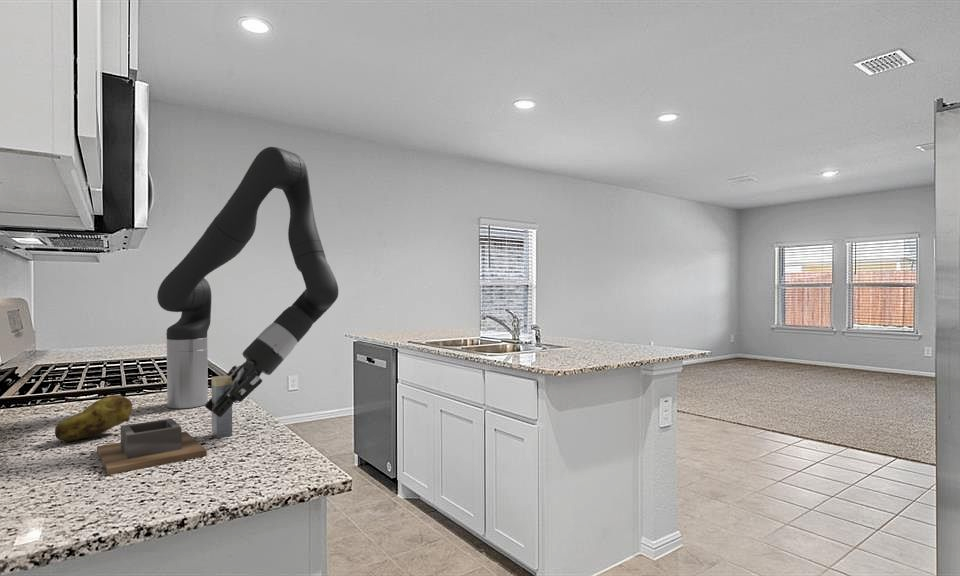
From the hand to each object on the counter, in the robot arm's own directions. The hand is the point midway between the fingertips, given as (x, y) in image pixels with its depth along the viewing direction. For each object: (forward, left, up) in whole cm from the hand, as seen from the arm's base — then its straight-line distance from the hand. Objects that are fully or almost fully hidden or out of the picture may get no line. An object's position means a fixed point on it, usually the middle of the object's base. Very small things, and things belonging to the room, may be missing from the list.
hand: (212, 411), depth 111 cm
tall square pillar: (0, +2, -5) cm, 6 cm away
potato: (-19, -15, -5) cm, 25 cm away
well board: (+2, -12, -5) cm, 13 cm away
